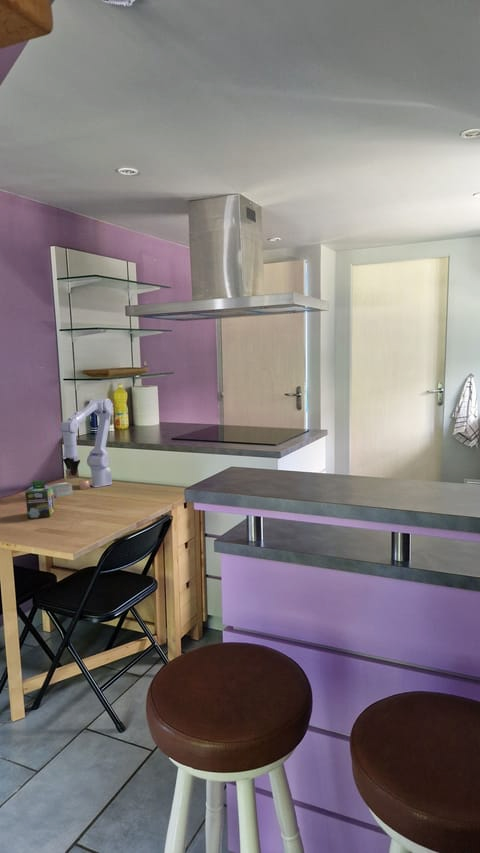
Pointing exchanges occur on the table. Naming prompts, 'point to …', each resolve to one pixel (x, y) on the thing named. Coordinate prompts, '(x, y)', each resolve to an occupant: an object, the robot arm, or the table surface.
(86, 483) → the peach capsule cylinder
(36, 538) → the table surface
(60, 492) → the small box
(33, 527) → the table surface
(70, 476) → the walnut block
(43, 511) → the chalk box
